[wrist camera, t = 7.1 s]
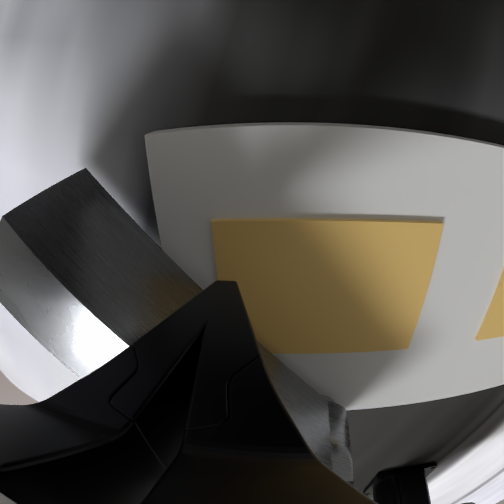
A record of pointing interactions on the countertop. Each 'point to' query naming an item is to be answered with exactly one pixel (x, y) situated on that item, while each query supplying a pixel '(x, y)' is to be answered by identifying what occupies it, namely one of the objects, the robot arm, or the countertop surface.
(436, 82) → the countertop surface
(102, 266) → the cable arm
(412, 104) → the countertop surface
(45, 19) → the countertop surface
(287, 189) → the label panel
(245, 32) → the countertop surface
